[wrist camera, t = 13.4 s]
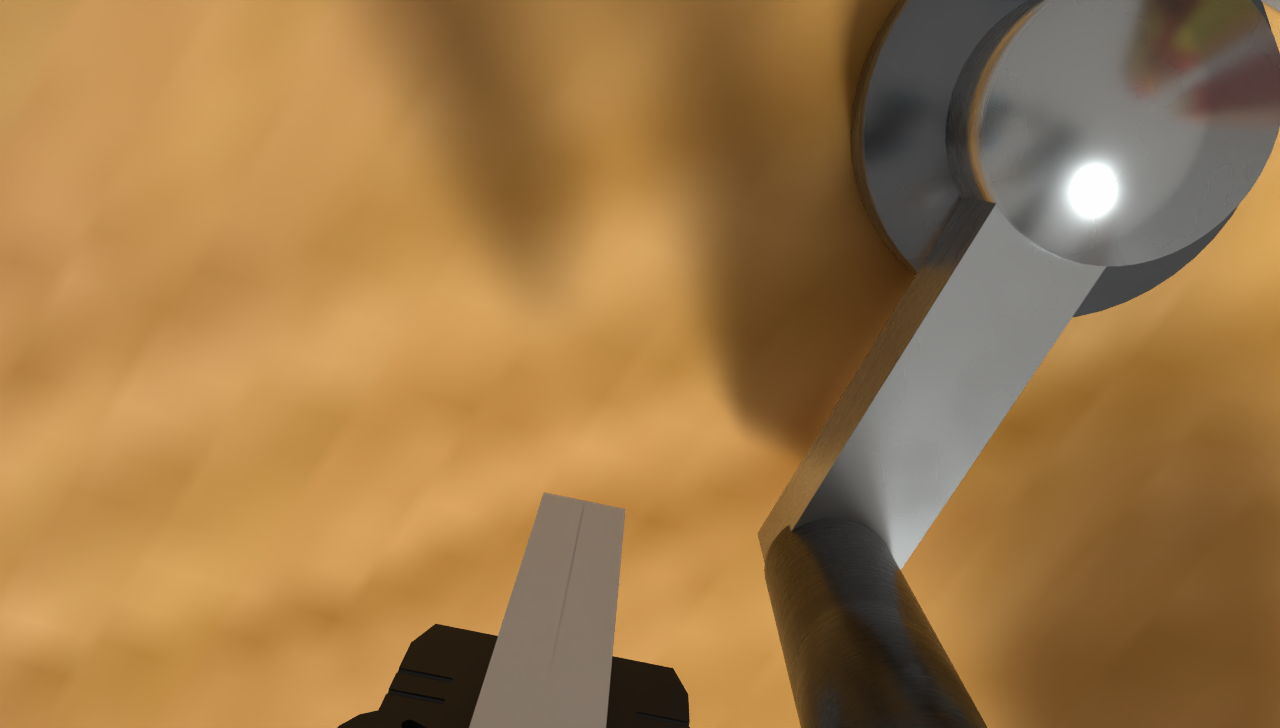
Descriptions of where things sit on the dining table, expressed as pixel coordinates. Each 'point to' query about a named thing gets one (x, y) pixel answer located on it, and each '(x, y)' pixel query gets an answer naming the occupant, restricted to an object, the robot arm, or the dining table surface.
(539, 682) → the robot arm
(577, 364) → the dining table surface
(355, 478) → the dining table surface
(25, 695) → the dining table surface
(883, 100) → the crank base
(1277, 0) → the tray
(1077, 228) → the crank
